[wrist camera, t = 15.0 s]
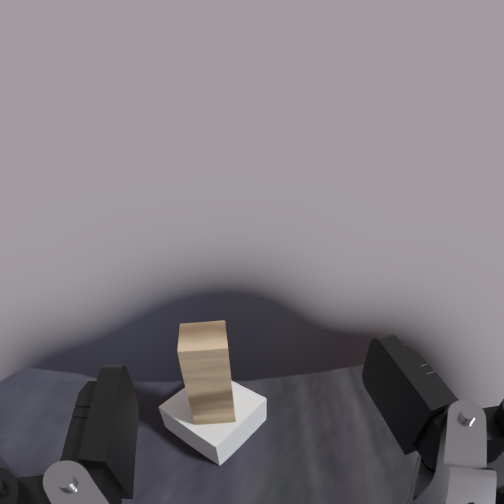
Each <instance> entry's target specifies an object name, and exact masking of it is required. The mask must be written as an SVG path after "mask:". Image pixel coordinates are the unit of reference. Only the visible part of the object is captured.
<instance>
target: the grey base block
mask: <svg viewBox="0 0 504 504" xmlns="http://www.w3.org/2000/svg"><path fill="white" fill-rule="evenodd" d="M231 383H232V392H233V402H234V411H235V420H236V422H229V423H217V424H202V425H195V424H194V420H193V416H192V412H191V408H190V404H189V400H188V396H187V392H186V388H183V389H182V390H181V391H179V392H178V393H177V394H175V395H174V396H173V397H171V398H170V399H168V400H167V401H166V402H164V403H163V404H162V405H160V406H159V410H160V413H161V416H162V419H163V421H164V424H165V427H166V428H167V429H168V430H170V431H171V432H172V433H174V434H175V435H176V436H178V437H179V438H180V439H182V440H183V441H184V442H186V443H187V444H189V445H190V446H191V447H193V448H194V449H196V450H197V451H198V452H200V453H201V454H203V455H204V456H206V457H207V458H209V459H210V460H212V461H213V462H215V463H216V464H218V465H219V466H220V465H221V464H222V463H223V462H224V461H225V460H227V459H228V458H229V457H230V456H231V455H232V454H233V453H234V452H235V451H236V450H237V449H238V448H239V447H240V446H241V445H242V444H243V443H244V442H245V441H246V440H247V439H248V438H249V437H250V436H251V435H252V434H253V433H254V432H255V431H256V430H257V429H258V428H259V426H260V425H261V424H262V423H263V422H264V421H265V420H266V398H265V397H263V396H261V395H259V394H257V393H255V392H253V391H251V390H249V389H247V388H245V387H243V386H241V385H239V384H237V383H235V382H233V381H231Z"/></svg>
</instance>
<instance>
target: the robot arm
mask: <svg viewBox="0 0 504 504" xmlns="http://www.w3.org/2000/svg"><path fill="white" fill-rule="evenodd" d="M362 378H363V383H364V386H365V388H366V390H367V391H368V393H369V395H370V396H371V398H372V400H373V401H374V403H375V405H376V406H377V408H378V410H379V411H380V413H381V415H382V416H383V418H384V420H385V421H386V423H387V425H388V427H389V428H390V430H391V432H392V433H393V435H394V437H395V438H396V440H397V442H398V444H399V445H400V447H401V449H402V450H403V452H404V454H405V455H407V454H409V453H412V452H414V451H418V453H419V457H418V459H417V462H416V467H415V472H414V477H413V481H412V485H411V490H410V494H409V498H408V501H407V504H504V399H503V401H502V402H501V404H500V405H499V406H494V407H488V408H481V407H480V406H479V405H478V404H476V403H474V402H472V401H469V400H458V399H457V398H456V397H455V395H454V394H453V393H452V392H451V390H450V389H449V388H448V387H447V386H446V384H445V383H444V382H443V381H442V380H441V378H440V377H439V376H438V375H437V374H436V372H434V370H433V369H432V368H431V366H430V365H429V364H428V365H427V362H426V361H425V359H424V358H423V357H422V356H421V355H420V354H419V353H418V352H417V351H415V350H413V349H412V348H410V347H408V346H403V345H402V343H401V342H400V341H399V340H398V338H397V337H396V336H394V335H387V336H382V337H378V338H374V339H372V340H371V342H370V345H369V349H368V353H367V356H366V361H365V364H364V368H363V372H362ZM75 406H76V408H74V411H73V415H72V417H73V418H72V419H71V422H70V426H69V429H68V433H67V437H66V441H65V445H64V449H63V453H62V457H61V460H60V461H59V462H57V463H54V464H53V465H51V466H50V467H49V468H48V469H47V471H46V472H45V474H44V475H39V476H31V477H21V478H20V477H19V476H18V475H17V474H16V473H15V472H14V471H13V470H12V469H11V468H10V467H9V465H8V464H7V463H6V462H5V461H4V460H3V459H2V458H1V457H0V504H121V502H122V498H124V499H133V484H134V467H135V453H136V441H137V430H138V420H139V405H138V399H137V396H136V393H135V390H134V387H133V385H132V382H131V379H130V376H129V373H128V370H127V367H126V366H125V365H112V366H111V365H109V366H108V365H104V366H102V367H101V369H100V372H99V375H98V379H97V381H88V382H87V384H86V385H85V386H84V387H83V388H82V390H81V391H80V392H79V394H78V398H77V401H76V404H75Z"/></svg>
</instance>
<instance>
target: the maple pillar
mask: <svg viewBox="0 0 504 504" xmlns="http://www.w3.org/2000/svg"><path fill="white" fill-rule="evenodd" d="M178 356H179V361H180V366H181V370H182V375H183V379H184V384H185V388H186V392H187V396H188V400H189V404H190V408H191V412H192V416H193V420H194V424H195V425H202V424H217V423H229V422H236V420H235V411H234V402H233V392H232V383H231V374H230V364H229V353H228V344H227V335H226V326H225V321H212V322H201V323H200V322H199V323H185V324H180V331H179V342H178Z"/></svg>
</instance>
